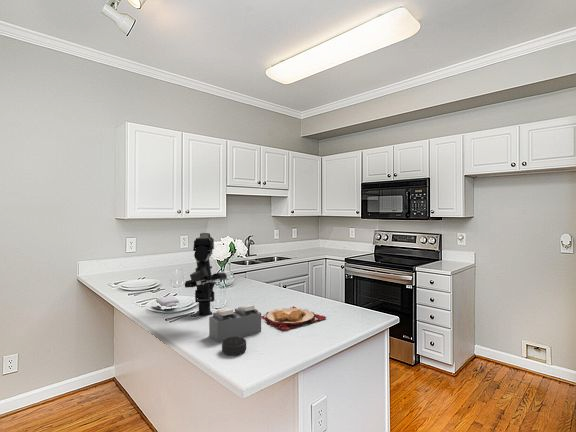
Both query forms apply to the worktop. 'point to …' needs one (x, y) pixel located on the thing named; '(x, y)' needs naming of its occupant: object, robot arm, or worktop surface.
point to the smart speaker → (234, 346)
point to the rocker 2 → (246, 308)
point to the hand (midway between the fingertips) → (208, 299)
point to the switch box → (234, 324)
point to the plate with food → (290, 317)
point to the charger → (167, 301)
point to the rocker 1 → (224, 312)
